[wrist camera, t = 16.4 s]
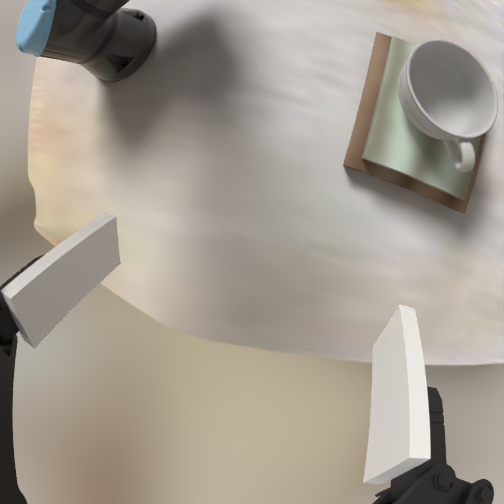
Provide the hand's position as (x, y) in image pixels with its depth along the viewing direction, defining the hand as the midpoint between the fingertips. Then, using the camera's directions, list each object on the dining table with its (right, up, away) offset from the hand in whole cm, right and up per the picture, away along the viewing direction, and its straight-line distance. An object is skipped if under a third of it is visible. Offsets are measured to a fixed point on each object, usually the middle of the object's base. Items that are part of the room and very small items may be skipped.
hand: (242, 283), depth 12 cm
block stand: (+24, +19, +20) cm, 36 cm away
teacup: (+22, +18, +15) cm, 32 cm away
